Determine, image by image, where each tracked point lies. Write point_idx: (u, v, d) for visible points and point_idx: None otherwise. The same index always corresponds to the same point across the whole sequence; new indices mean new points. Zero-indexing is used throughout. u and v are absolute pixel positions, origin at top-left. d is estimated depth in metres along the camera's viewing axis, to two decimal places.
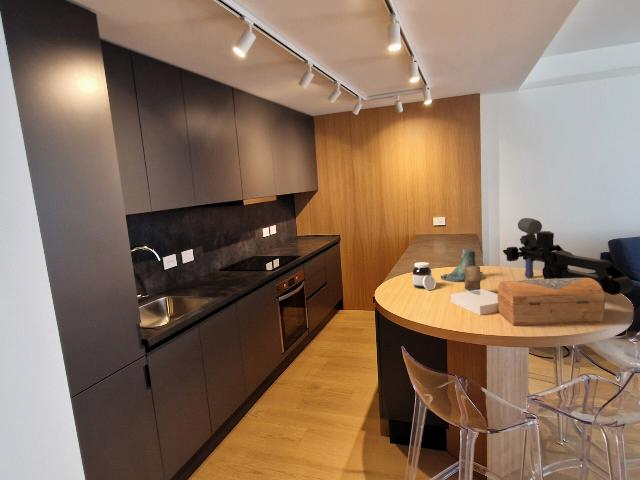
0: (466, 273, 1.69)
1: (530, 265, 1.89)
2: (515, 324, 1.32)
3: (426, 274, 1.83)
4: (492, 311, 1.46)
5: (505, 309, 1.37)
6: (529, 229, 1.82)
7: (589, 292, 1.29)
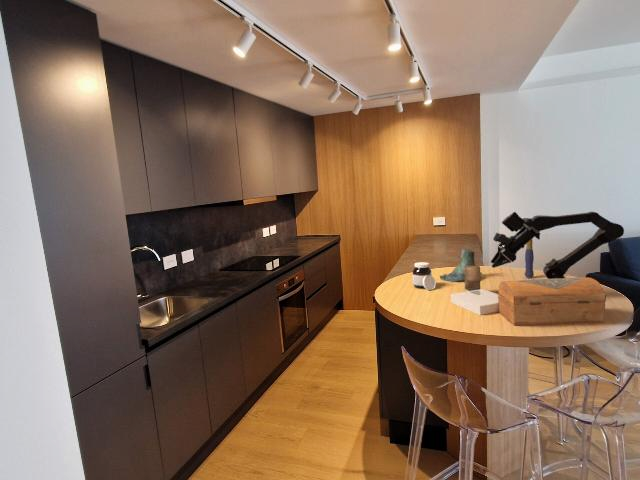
0: (466, 273, 1.69)
1: (530, 265, 1.89)
2: (516, 324, 1.32)
3: (426, 274, 1.83)
4: (492, 311, 1.46)
5: (506, 308, 1.38)
6: None
7: (589, 291, 1.29)
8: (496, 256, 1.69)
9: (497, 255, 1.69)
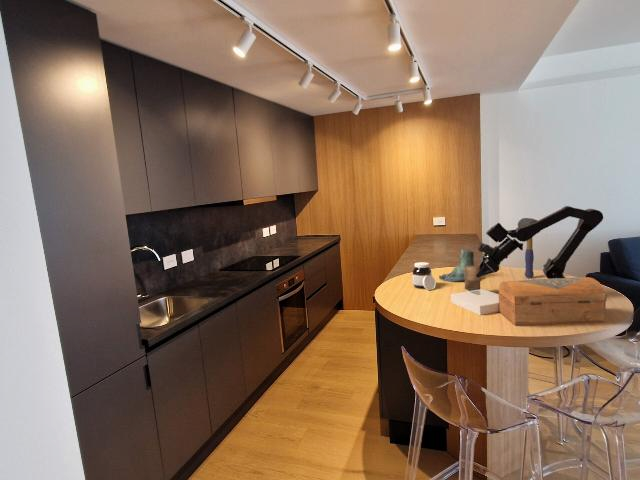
0: (466, 273, 1.69)
1: (530, 265, 1.89)
2: (517, 324, 1.32)
3: (426, 274, 1.83)
4: (492, 311, 1.46)
5: (507, 308, 1.38)
6: None
7: (590, 291, 1.29)
8: (481, 266, 1.72)
9: (482, 265, 1.72)
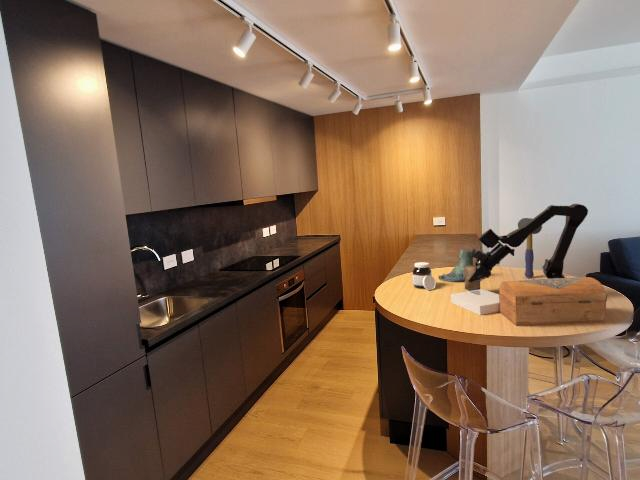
0: (466, 273, 1.69)
1: (530, 265, 1.89)
2: (517, 324, 1.32)
3: (426, 274, 1.83)
4: (492, 311, 1.46)
5: (507, 309, 1.37)
6: None
7: (590, 291, 1.29)
8: None
9: None
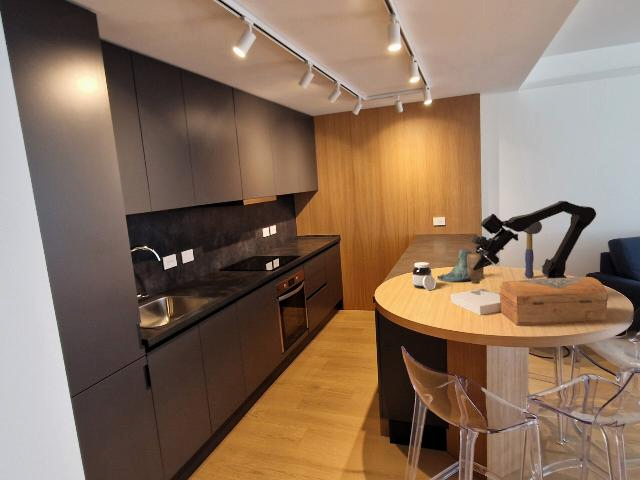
0: (470, 261, 1.61)
1: (530, 265, 1.89)
2: (519, 324, 1.32)
3: (426, 274, 1.83)
4: (492, 311, 1.46)
5: (509, 308, 1.37)
6: (529, 229, 1.82)
7: (591, 291, 1.29)
8: None
9: None
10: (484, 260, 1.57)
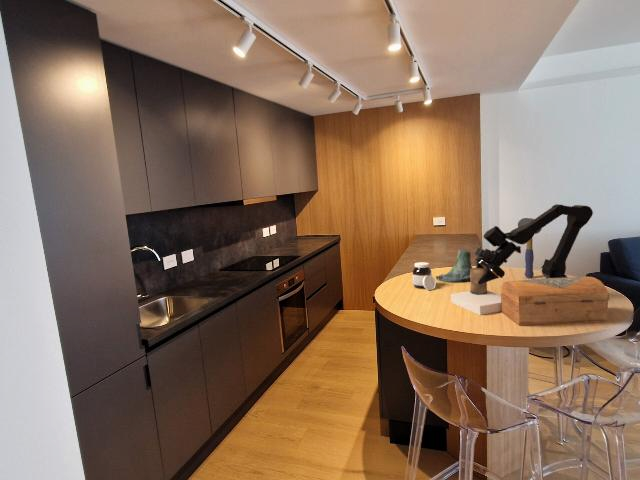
0: (474, 276, 1.58)
1: (530, 265, 1.89)
2: (521, 324, 1.31)
3: (426, 274, 1.83)
4: (492, 311, 1.46)
5: (510, 308, 1.37)
6: None
7: (592, 290, 1.30)
8: None
9: None
10: (489, 274, 1.54)
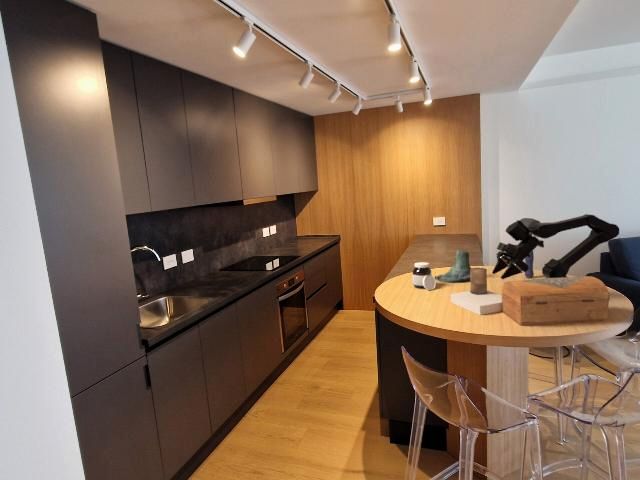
0: (474, 276, 1.58)
1: (530, 265, 1.89)
2: (522, 324, 1.31)
3: (426, 274, 1.83)
4: (492, 311, 1.46)
5: (511, 308, 1.37)
6: None
7: (593, 290, 1.30)
8: (497, 266, 1.63)
9: (498, 265, 1.63)
10: (513, 268, 1.53)
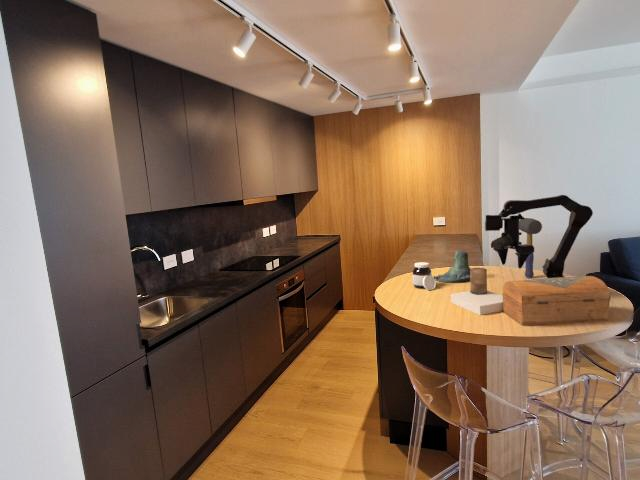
0: (474, 276, 1.58)
1: (530, 265, 1.89)
2: (524, 324, 1.31)
3: (426, 274, 1.83)
4: (492, 311, 1.46)
5: (512, 308, 1.37)
6: (529, 229, 1.82)
7: (594, 290, 1.30)
8: (502, 257, 1.67)
9: (502, 255, 1.67)
10: (522, 255, 1.56)
